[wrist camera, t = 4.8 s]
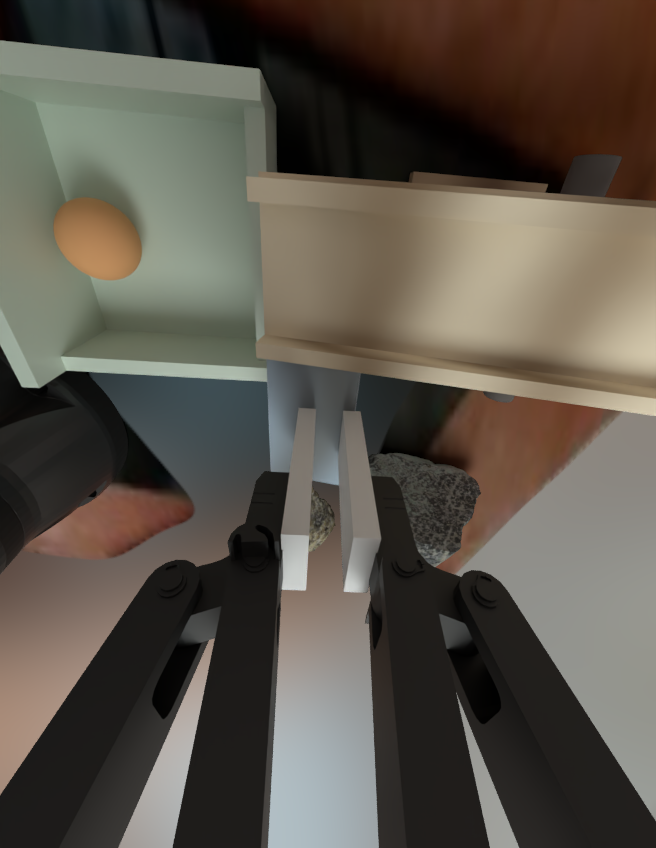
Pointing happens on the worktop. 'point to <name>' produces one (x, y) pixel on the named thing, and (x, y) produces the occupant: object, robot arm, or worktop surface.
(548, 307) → the lever
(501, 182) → the fulcrum
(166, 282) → the bin
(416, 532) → the stone
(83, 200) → the brown egg
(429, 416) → the worktop surface
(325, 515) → the rock
